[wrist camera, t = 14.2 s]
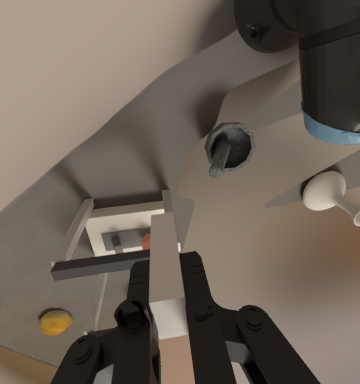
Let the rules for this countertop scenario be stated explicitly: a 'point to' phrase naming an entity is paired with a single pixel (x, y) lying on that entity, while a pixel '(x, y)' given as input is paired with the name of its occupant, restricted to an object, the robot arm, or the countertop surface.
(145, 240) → the terracotta block
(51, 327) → the bread roll
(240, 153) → the mortar and pestle
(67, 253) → the white grey open frame
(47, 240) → the countertop surface
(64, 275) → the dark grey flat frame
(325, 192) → the flower in vase
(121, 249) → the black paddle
